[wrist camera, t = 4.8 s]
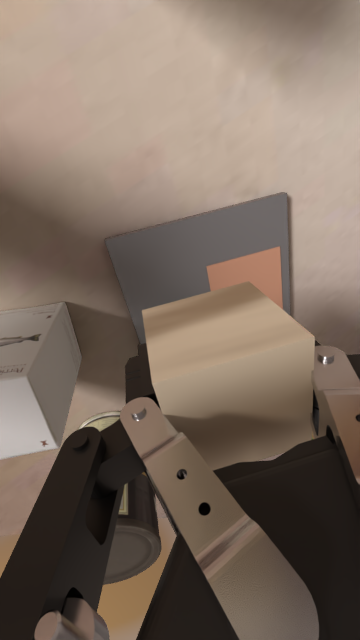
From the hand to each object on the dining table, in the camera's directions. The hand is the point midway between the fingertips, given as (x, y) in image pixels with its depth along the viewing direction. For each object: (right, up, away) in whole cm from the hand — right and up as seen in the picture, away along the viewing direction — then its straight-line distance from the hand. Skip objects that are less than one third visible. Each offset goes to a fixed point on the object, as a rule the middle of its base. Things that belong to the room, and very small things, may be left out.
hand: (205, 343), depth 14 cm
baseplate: (+2, +3, +19) cm, 19 cm away
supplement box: (-16, 0, +17) cm, 24 cm away
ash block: (0, 0, 0) cm, 0 cm away
